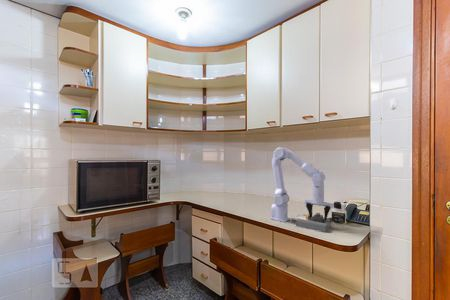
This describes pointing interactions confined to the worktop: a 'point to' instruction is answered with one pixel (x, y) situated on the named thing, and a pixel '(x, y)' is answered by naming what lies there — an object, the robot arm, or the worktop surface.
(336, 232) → the worktop surface
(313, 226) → the socket
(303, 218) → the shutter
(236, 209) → the worktop surface
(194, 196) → the worktop surface
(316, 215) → the plug
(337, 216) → the medicine bottle
